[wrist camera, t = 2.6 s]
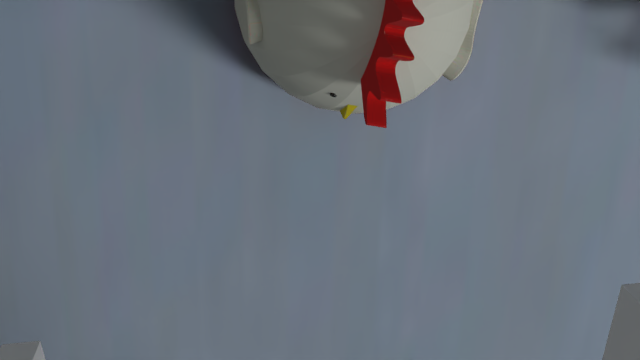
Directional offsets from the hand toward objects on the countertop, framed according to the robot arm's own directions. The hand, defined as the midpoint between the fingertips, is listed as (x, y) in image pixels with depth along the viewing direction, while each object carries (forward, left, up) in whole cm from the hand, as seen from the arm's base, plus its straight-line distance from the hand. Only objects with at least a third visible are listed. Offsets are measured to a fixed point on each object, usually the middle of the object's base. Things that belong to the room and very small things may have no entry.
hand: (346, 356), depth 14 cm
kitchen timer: (-4, -5, -28) cm, 29 cm away
